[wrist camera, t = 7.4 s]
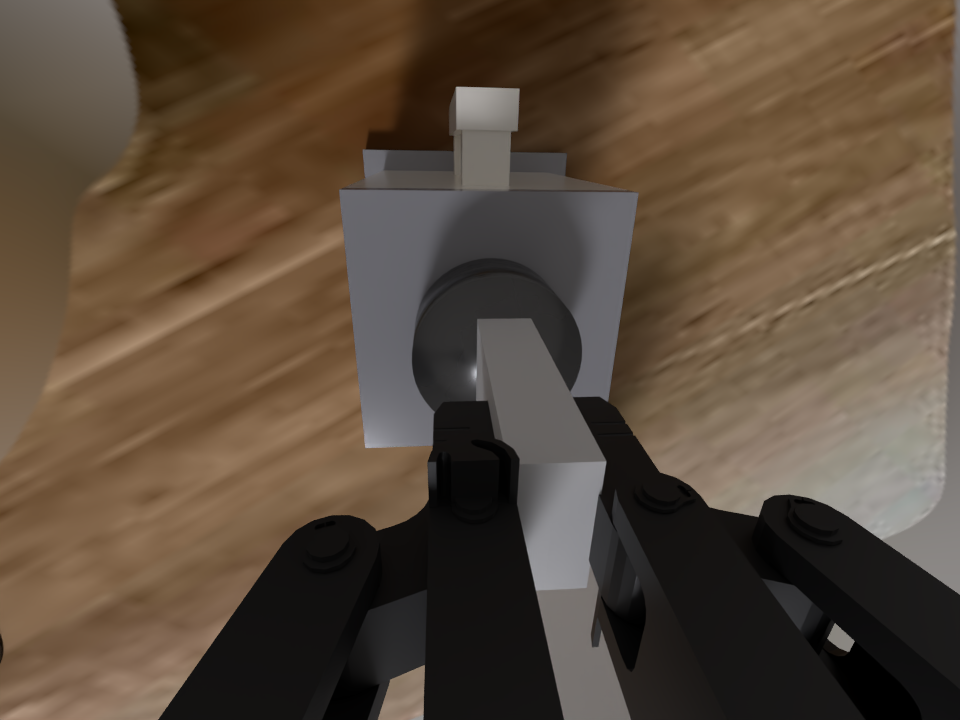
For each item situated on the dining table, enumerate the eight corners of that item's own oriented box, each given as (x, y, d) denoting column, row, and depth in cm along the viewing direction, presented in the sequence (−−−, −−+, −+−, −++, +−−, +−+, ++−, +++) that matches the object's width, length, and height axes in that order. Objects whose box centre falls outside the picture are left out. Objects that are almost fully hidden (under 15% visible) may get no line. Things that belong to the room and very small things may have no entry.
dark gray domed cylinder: (417, 309, 27) (403, 447, 15) (413, 204, 25) (391, 262, 12) (516, 308, 28) (584, 441, 15) (521, 205, 25) (607, 261, 13)
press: (379, 336, 30) (340, 471, 18) (362, 110, 25) (288, 72, 12) (547, 334, 31) (623, 459, 19) (565, 115, 26) (688, 84, 13)
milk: (570, 463, 36) (748, 861, 16) (560, 524, 38) (703, 936, 18) (491, 464, 35) (572, 881, 15) (486, 526, 38) (550, 956, 18)
